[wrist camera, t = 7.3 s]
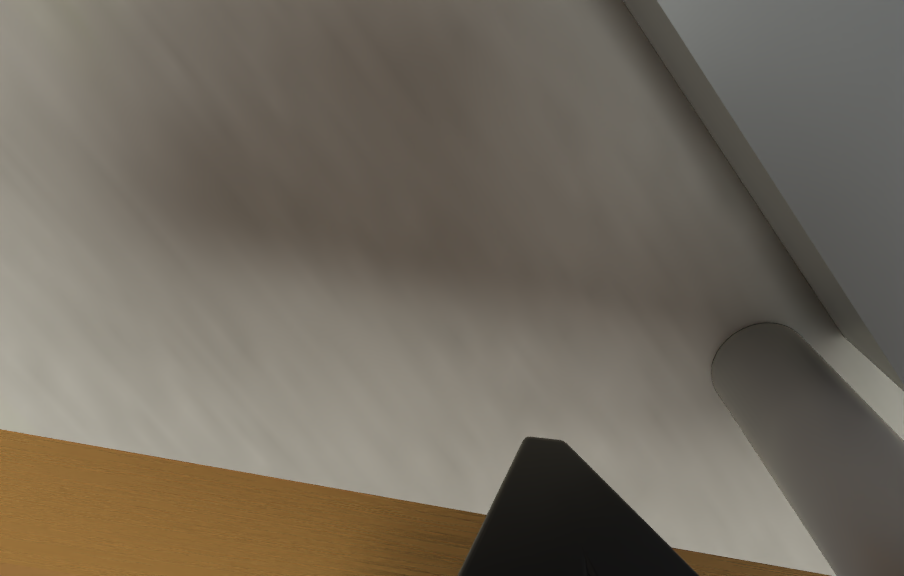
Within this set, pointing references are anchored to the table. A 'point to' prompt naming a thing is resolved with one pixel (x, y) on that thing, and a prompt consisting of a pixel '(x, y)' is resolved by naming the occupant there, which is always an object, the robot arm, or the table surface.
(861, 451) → the socket block
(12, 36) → the table surface
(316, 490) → the golden orange bar
